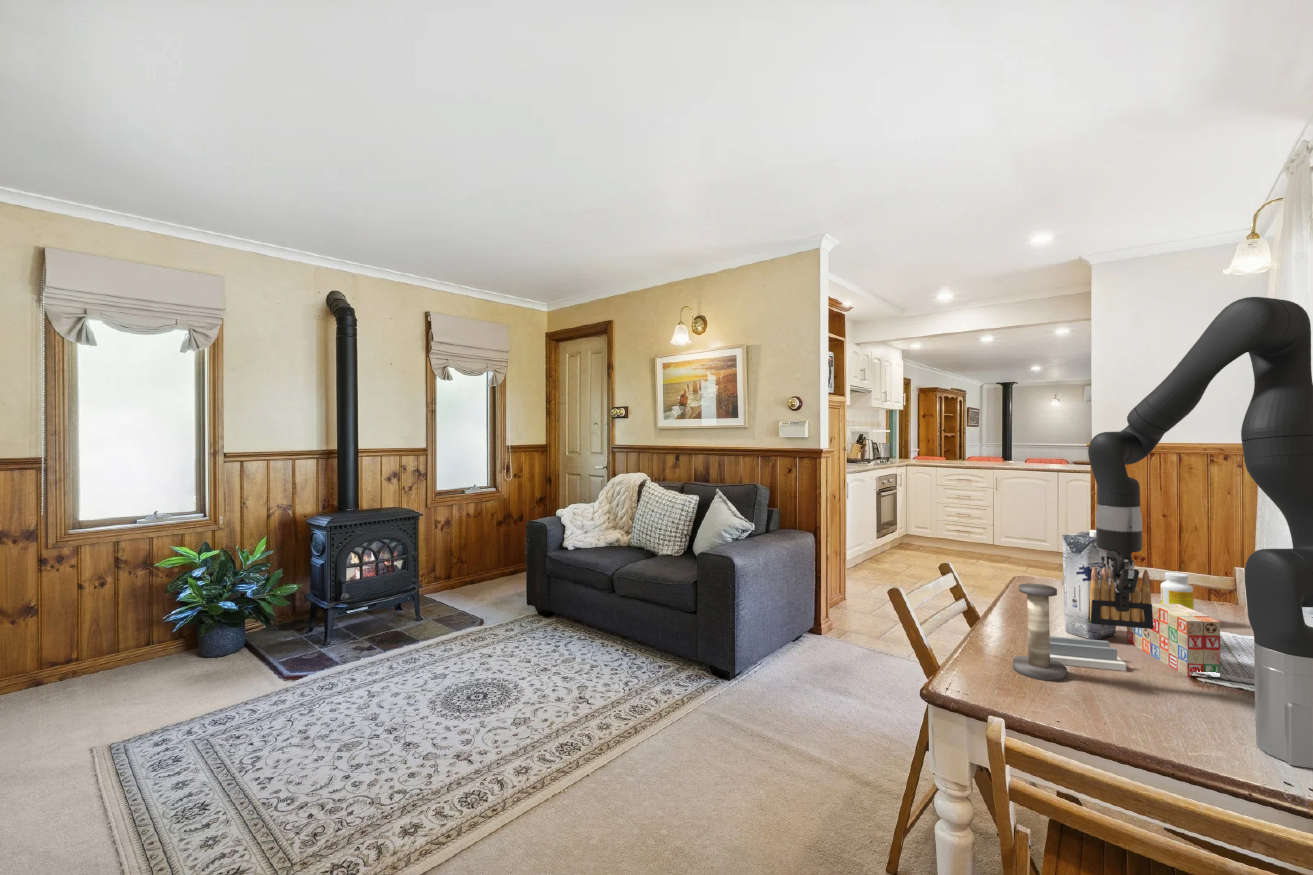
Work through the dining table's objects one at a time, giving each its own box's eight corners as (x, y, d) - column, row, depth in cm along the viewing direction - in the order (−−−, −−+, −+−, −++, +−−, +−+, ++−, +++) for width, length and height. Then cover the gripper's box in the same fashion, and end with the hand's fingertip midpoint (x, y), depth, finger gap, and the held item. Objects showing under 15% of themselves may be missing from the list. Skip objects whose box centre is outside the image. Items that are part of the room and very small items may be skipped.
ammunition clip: (1090, 623, 123) (1090, 567, 123) (1088, 620, 124) (1087, 565, 124) (1153, 629, 119) (1153, 570, 119) (1149, 626, 121) (1149, 568, 120)
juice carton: (1059, 632, 152) (1057, 529, 151) (1084, 625, 156) (1081, 525, 156) (1096, 643, 143) (1094, 534, 143) (1121, 636, 148) (1119, 530, 147)
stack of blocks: (1125, 641, 144) (1125, 592, 144) (1154, 642, 143) (1153, 592, 143) (1187, 677, 123) (1186, 619, 123) (1222, 678, 122) (1220, 620, 122)
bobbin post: (1073, 683, 121) (1071, 595, 121) (1018, 677, 125) (1016, 591, 125) (1059, 665, 131) (1057, 583, 131) (1008, 660, 134) (1006, 580, 134)
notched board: (1126, 671, 127) (1125, 652, 127) (1045, 663, 132) (1045, 645, 132) (1110, 655, 135) (1110, 638, 135) (1035, 648, 141) (1035, 632, 141)
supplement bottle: (1201, 624, 154) (1200, 576, 154) (1176, 625, 154) (1175, 577, 154) (1178, 616, 161) (1177, 570, 161) (1154, 617, 161) (1153, 571, 161)
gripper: (1155, 533, 114) (1156, 621, 114) (1127, 522, 126) (1128, 601, 127) (1109, 531, 116) (1110, 617, 117) (1086, 520, 129) (1087, 598, 129)
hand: (1119, 608), depth 122 cm, fingers closed on ammunition clip, 2 cm apart
